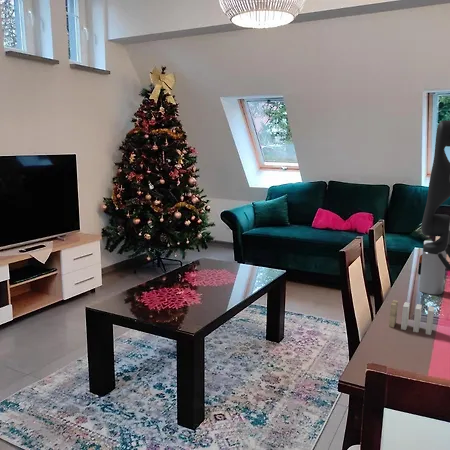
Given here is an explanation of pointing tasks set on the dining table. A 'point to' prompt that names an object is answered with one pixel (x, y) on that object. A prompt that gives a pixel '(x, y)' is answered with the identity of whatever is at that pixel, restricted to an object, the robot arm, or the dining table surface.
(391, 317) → the domino
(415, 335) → the dining table surface
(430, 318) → the domino
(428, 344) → the dining table surface
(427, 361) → the dining table surface
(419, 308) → the domino
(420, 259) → the battery
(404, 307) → the domino
